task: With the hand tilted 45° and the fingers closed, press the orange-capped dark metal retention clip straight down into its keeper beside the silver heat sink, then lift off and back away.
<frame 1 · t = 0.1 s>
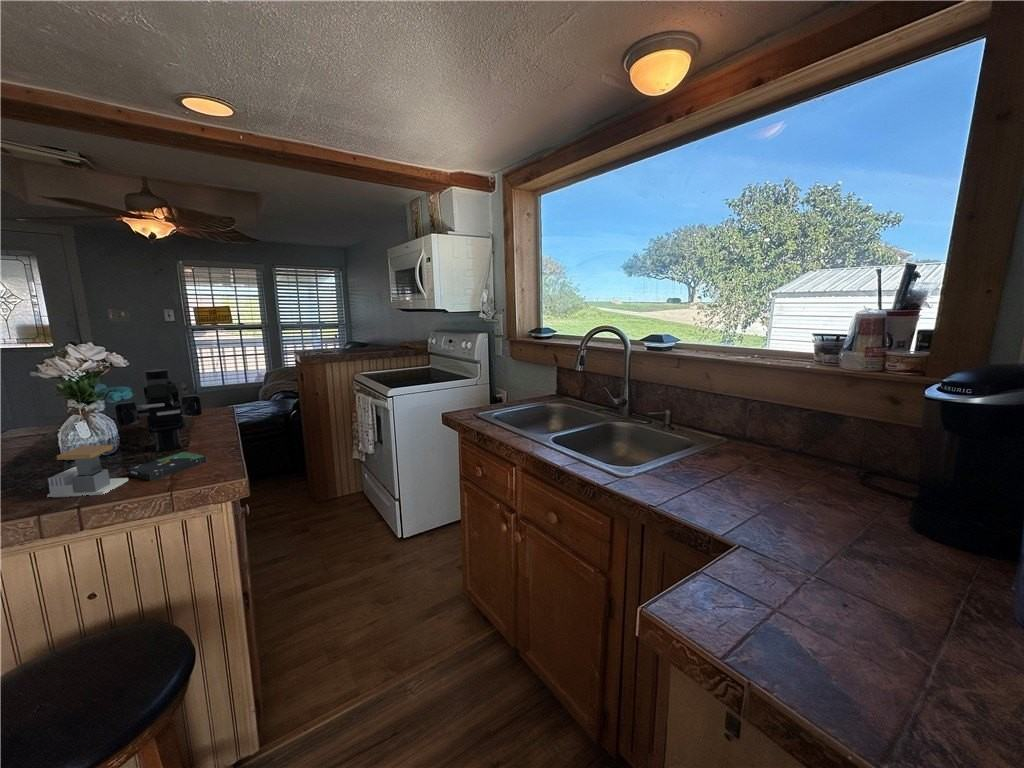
hand: (160, 415, 114), 17 cm above the worktop, tool horizontal, fingers open, 9 cm apart
disk drive: (170, 470, 120), on the worktop
heat sink board: (93, 491, 105), on the worktop
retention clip: (87, 461, 104), point 8 cm above the worktop, slide at 0.0 cm
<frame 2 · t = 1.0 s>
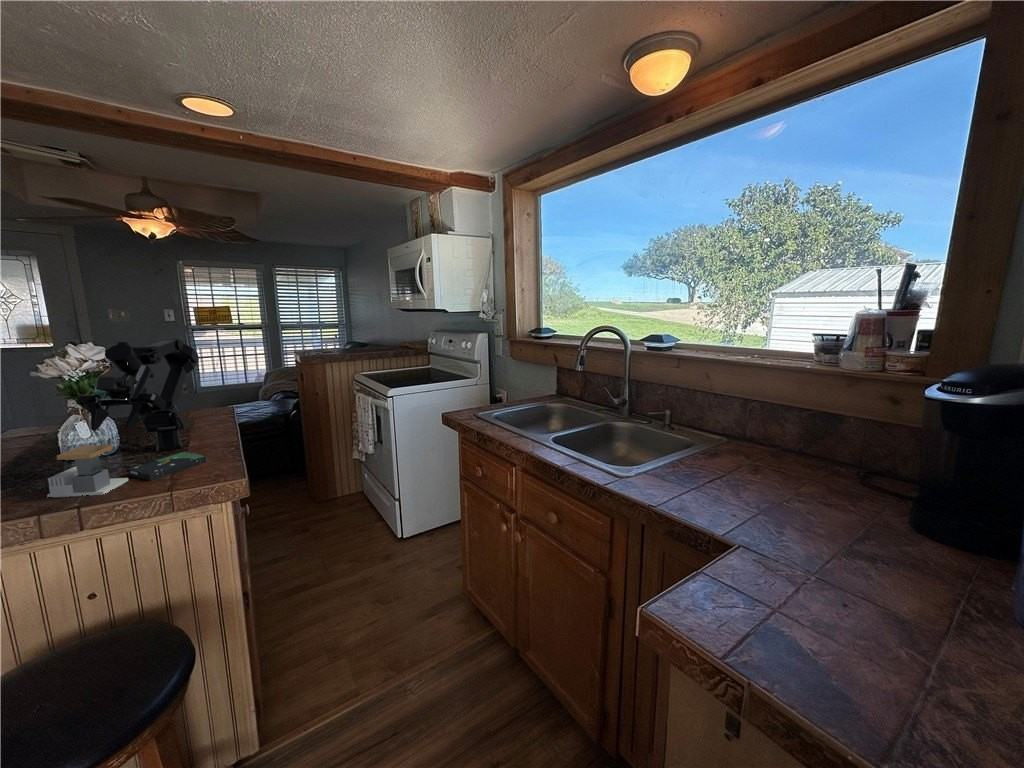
hand: (109, 429, 110), 14 cm above the worktop, tool tilted 45°, fingers open, 7 cm apart
nothing on the worktop moved.
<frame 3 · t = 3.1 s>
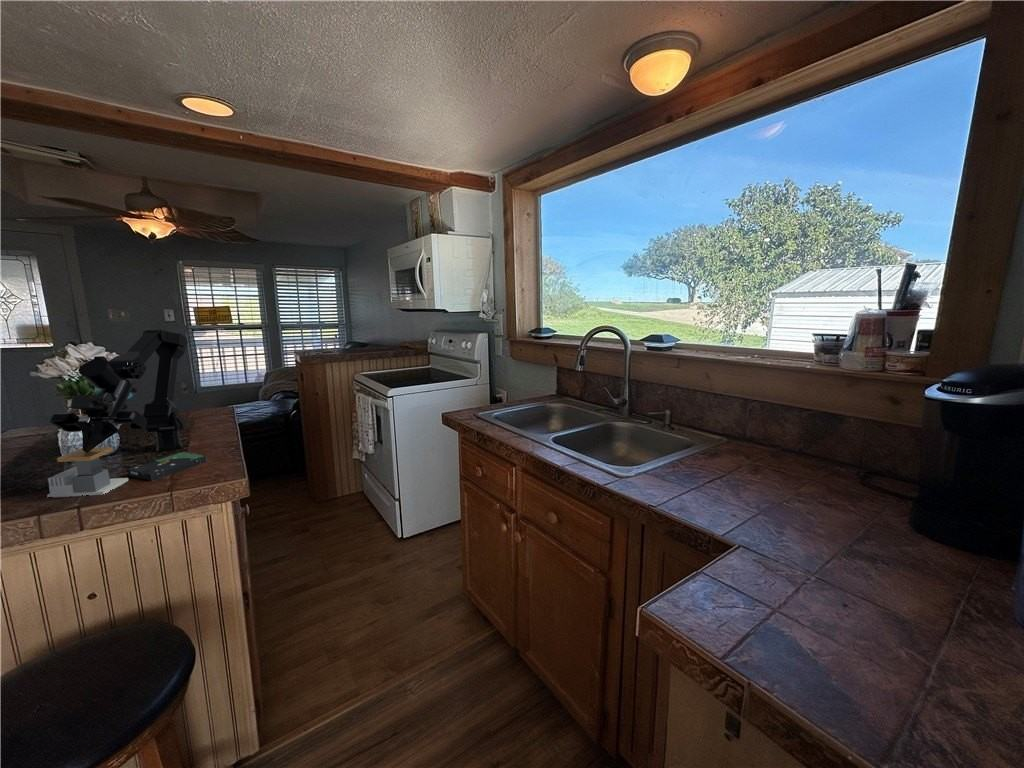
hand: (85, 451, 103), 11 cm above the worktop, tool tilted 45°, fingers closed, pressing on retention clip
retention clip: (88, 463, 104), point 7 cm above the worktop, slide at 0.6 cm, touching gripper
everything else where it was.
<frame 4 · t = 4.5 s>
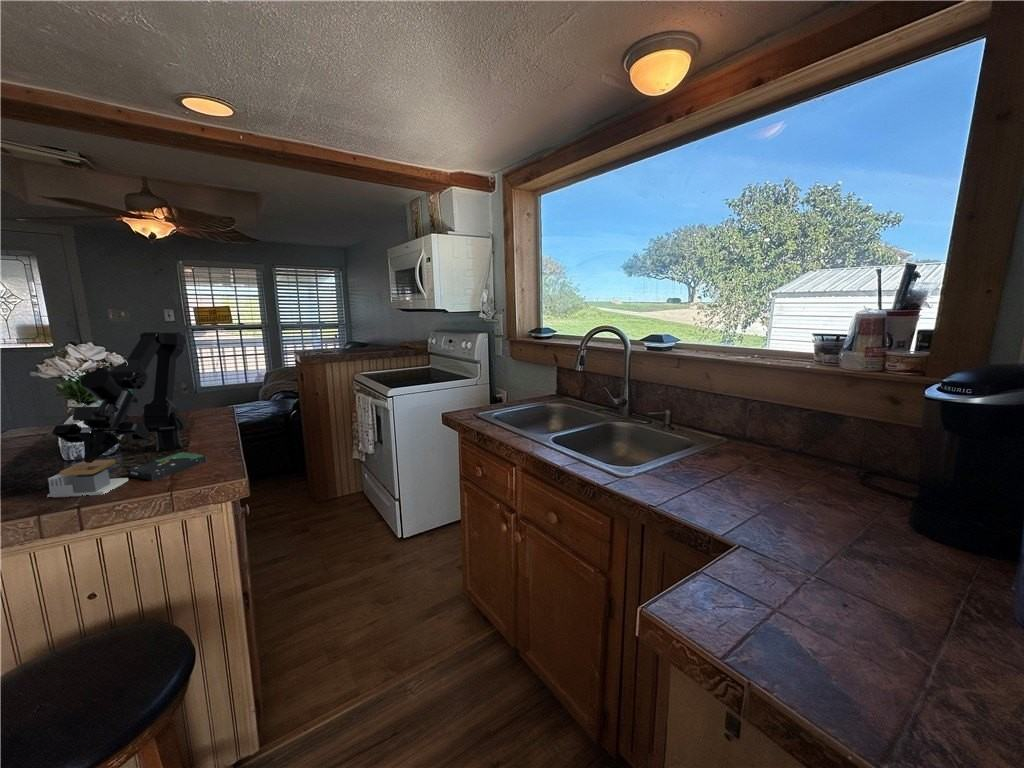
hand: (87, 462, 104), 8 cm above the worktop, tool tilted 45°, fingers closed
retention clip: (90, 476, 104), point 4 cm above the worktop, slide at 4.0 cm
everything else where it was.
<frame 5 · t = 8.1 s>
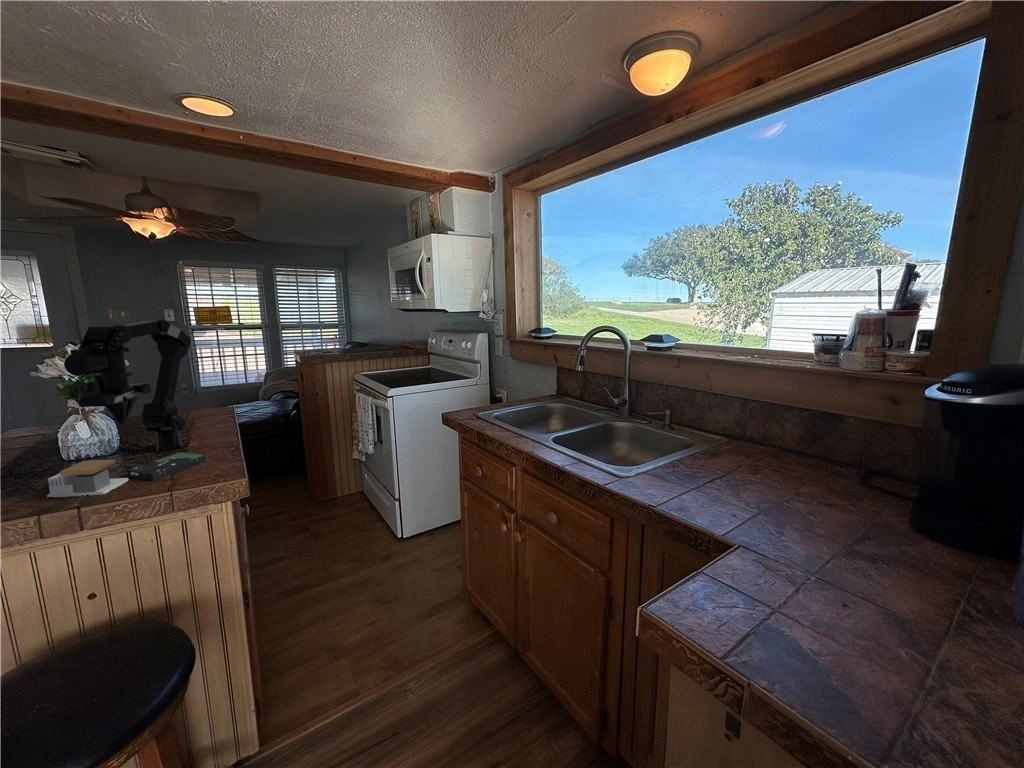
hand: (122, 423, 118), 13 cm above the worktop, tool pointing down, fingers closed
nothing on the worktop moved.
at the end: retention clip slide at 4.0 cm; disk drive moved 0.8 cm from its start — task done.
